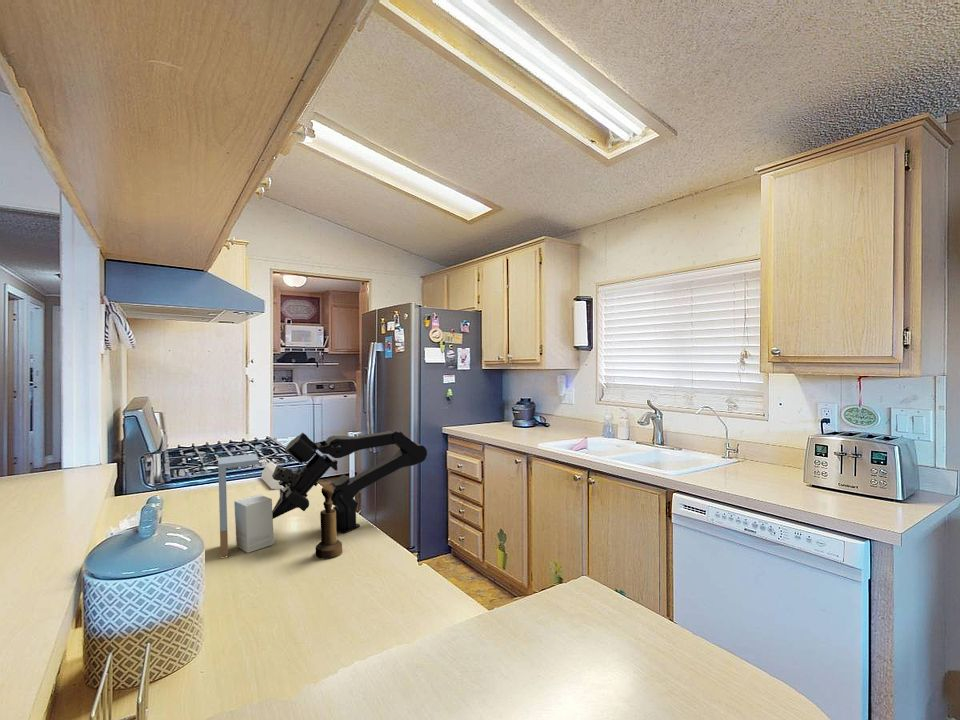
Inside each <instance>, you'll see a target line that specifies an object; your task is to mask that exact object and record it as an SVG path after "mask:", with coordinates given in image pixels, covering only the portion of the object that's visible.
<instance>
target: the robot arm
mask: <svg viewBox="0 0 960 720" xmlns="http://www.w3.org/2000/svg"><path fill="white" fill-rule="evenodd" d="M390 445H395V446H397V448H399V450H398V451H397V452H396V453H395V454H394V455H393V456H391V457H388V458H387V459H385V460H383V461H381V462H379V463H377V464H376V465H373V466H372V467H369V468H368V469H366V470H364V471H362V472H360V473H359V474H358V473H357V474H356V475H354V476H352V477H347V476H346V475H345V474H342V475H340V476H338V478H335V479H332V480H331V483H329V484H330V485H332V486H333V488H334V492H333V494H332V496H331V501H332V502H333V503H332V509H334V510H336V532H339V533H342V534H343V533H344V534H345V533H349V532H350V531H352V530H355V529H357V528H360V527H361V524H360V523H357V507H358V501H356V500H355V497H356V496H357V495H358V494H359V492H360V491H362V490H363V489H365V488H367V487H369V486H371V485H373V484H374V483H376V482H378V481H380V480H382V479H384V478H385V477H388V476H389V475H391V474H392V473H394V472H397V471H398V470H400V469H402V468H406V467H407V468H409V467H413V466H416V465H418V464H421V463H423V462H425V460H427V456H428V451H427V448H426V447H425V446H424V445H422V444H420V443H418V442H414V441H412V440H411V439H410V438H408V437H407V436H406V435H405V434H404V433H403V432H402V431H399V430H397V429H391V430H387V431H382V432H376V433H369V434H364V435H363V434H362V435H356V436H353V435H352V436H348V435H330V436H329V437H327V438H326V440H322V441H316V442H314V441H312V439H310V438H309V436H308V435H306V434H305V433H304V432H301V433H300V434H299V435H298V436H296V437H295V438H293V439H292V440H290V441H289V443H288V444H286V447H284V451H285V453H287V454H288V455H289V456H290V457H292V458H293V459H294V460H296V462H298V463H299V464H302V463H306V464H305V465H304V466H303V467H302V468H301V467H300V468H298V469H297V470H296V471H295V470H293V469H292V468H288V467H283V466H280V465H276V468H275V471H274V473H273V475H272V477H273V479H274V480H277V481H279V480H280V481H279V482H278V483H279V485H282V486H283V487H284V489H278V490H279V498H278V500H277V502H276V503H275V505H274V507H273V508H272V514H273V520H274V519H276V518H278V517H281V516H282V515H284V514H287V513H289V512H290V511H293V510H295V509H299V510H301V511H303V512H305V511H306V510H307V509H308V508H309V507H310V500H309V499H308V496H309V495H308V493H309V492H310V490H312V488H313V487H317V486H318V484H319V483H318V482H319V480H320V479H321V478H322V477H323V476H324V475H325V474H326V473H327V472H328V471H329V469H330V468H332V469H333V470H334V471H336V472H337V471H338V460H337V459H340V458H343V457H347V456H349V455H352V454H353V453H356V452H357V451H361V450H367V449H373V448H379V447H384V446H390ZM317 451H319V452H320V453H321V454H322V455H321V454H320V453H318V452H317ZM328 455H329V456H330V457H332V458H333V459H332V458H330V457H329V456H328Z"/></svg>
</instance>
